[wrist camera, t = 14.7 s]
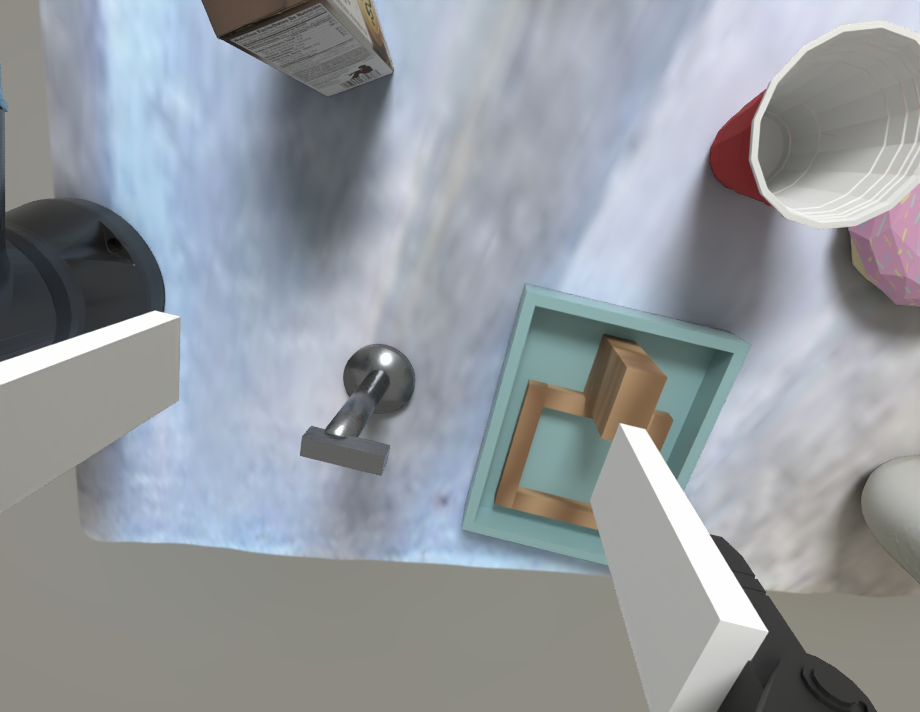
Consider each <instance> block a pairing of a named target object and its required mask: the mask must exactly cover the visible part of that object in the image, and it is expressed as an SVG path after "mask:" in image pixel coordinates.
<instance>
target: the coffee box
mask: <svg viewBox="0 0 920 712" xmlns="http://www.w3.org/2000/svg"><path fill="white" fill-rule="evenodd" d="M201 1H202V3H203V5H204V8H205V10H206V12H207V15H208V17H209V20H210V22H211V25H212V27H213V30H214V32H215V34H216V36H217V38H218V39H221V40H224V41H225V42H227V43H229V44H231V45H233V46H235V47H237V48H238V49H240V50H242V51H244V52H246V53H248V54H250V55H251V56H253V57H255V58H257V59H259V60H261V61H263V62H264V63H266V64H268V65H270V66H272V67H274V68H276V69H277V70H279V71H281V72H283V73H285V74H287V75H289V76H290V77H292V78H294V79H296V80H298V81H299V82H301V83H303V84H305V85H307V86H309V87H311V88H313V89H314V90H316V91H318V92H320V93H322V94H323V95H325V96H327V97H329V96H332V95H335V94H337V93H340V92H343V91H346V90H348V89H351V88H354V87H356V86H359V85H362V84H365V83H367V82H370V81H373V80H375V79H378V78H380V77H383V76H386V75H388V74H391V73H393V71H394V67H393V63H392V60H391V57H390V53H389V50H388V47H387V43H386V40H385V37H384V34H383V30H382V27H381V24H380V21H379V17H378V14H377V11H376V8H375V4H374V1H373V0H201Z"/></svg>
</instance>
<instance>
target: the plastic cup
mask: <svg viewBox="0 0 920 712" xmlns="http://www.w3.org/2000/svg"><path fill="white" fill-rule="evenodd" d="M710 165H711V168H712V170H713V173H714V176H715V177H716V178H717V179H718V180H719V181H720V182H721V183H722V184H723V185H724V186H725V187H727V188H730V189H732V190H735V191H736V192H737V193H739V194H742V195H745V196H748V197H751V198H753V199H756V200H759V201H762V202H764V203H765V204H766V205H769V206H772V207H773V208H775V209H776V210H777V211H778V212H779V213H780V214H781V215H782V216H783V217H785V218H787V219H790V220H793V221H796V222H798V223H801V224H804V225H807V226H810V227H813V228H816V229H828V228H840V227H851V226H857V225H859V224H861V223H863V222H865V221H867V220H869V219H872V218H874V217H876V216H878V215H880V214H882V213H884V212H886V211H889V210H891V209H892V208H893V207H894V206H896V205H897V204H898V203H899V202H900V201H901V200H902V199H903V198H904V197H905V196H906V195H907V194H908V193H909V192H910V191H912V190H913V189H914V188H915V187H916V186H917V185H918V184H919V183H920V33H917V32H915V31H912V30H909V29H907V28H904V27H901V26H898V25H896V24H893V23H890V22H888V21H885V20H880V21H871V22H862V23H853V24H844V25H841V26H839V27H837V28H836V29H834V30H832V31H830V32H828V33H826V34H824V35H823V36H821V37H819V38H817V39H815V40H813V41H811V42H810V43H808V44H806V45H804V46H803V47H802V48H801V49H800V50H799V51H798V52H797V53H796V54H795V55H794V57H793V58H792V59H791V60H790V61H789V62H788V63H787V64H786V65H785V66H784V67H783V69H782V70H781V71H780V72H779V73H778V74H777V75H776V76H775V77H774V78H773V79H772V81H771V82H770V83H769V85H768V87H767V89H765V90H764V91H763V92H762V93H760V94H759V95H758V96H757V97H755V98H754V99H753V100H752V101H750V102H749V103H748V104H747V105H745V106H744V107H743V108H742V109H741V110H740V111H739V112H738V113H737V114H736V115H734V116H733V117H732V118H731V119H730V120H729V121H728V122H727V123H726V124H725V125H724V126H723V127H722V128H721V129H720V130H719V132H718V133H717V136H716V138H715V140H714V142H713V144H712V147H711V153H710Z"/></svg>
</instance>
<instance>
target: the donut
mask: <svg viewBox="0 0 920 712" xmlns="http://www.w3.org/2000/svg"><path fill="white" fill-rule="evenodd" d="M848 231H849V233H850V235H851V249H852V263H853V265H854V266H855V267H856V269H857V270H858V271H859V272H860V273H861V274H862V275H863V276H864V277H865V278H866V279H867V280H869V281H870V282H871V283H873V284H874V285H875V286H876V287H878V288H879V289H880V290H882V291H883V292H884V293H885V294H886V295H887V296H888V297H889V298H890V299H891V300H892V301H893V302H894V303H895V304H896V305H906V306H917V307H920V183H919V184H918V185H917V186H916V187H915V188H914V189H913V190H912V191H910V192H909V193H908V194H907V195H906V196H905V197H904V198H903V199H902V200H901V201H900V202H899V203H898V204H897V205H896V206H894V207H893V208H892V209H891V210H889V211H886V212H884V213H882V214H880V215H878V216H876V217H874V218H872V219H869V220H867V221H865V222H863V223H861V224H859V225H857V226H851V227H849V228H848Z"/></svg>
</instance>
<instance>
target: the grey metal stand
mask: <svg viewBox="0 0 920 712" xmlns="http://www.w3.org/2000/svg"><path fill="white" fill-rule="evenodd" d="M343 380H344V386H345V389H346V391H347V393H348V395H349V396H350V398H349V399H348V400H347V402H346V403H345V404H344V406H343V407H342V408H341V409H340V411H339V412H338V413H337V415H336V416H335V417H334V418H333V420H332V421H331V422H330V424H329V425H328V426H327V427H326V429H322V428H318V427H313V426H311V427H310V428H309V429H308V430H307V431H306V433H305V434H304V435H303V436H302V442H301V450H300V456H303V457H307V458H311V459H315V460H319V461H323V462H327V463H331V464H335V465H340V466H344V467H348V468H352V469H356V470H360V471H364V472H368V473H372V474H376V475H380V476H381V475H382V473H383V471H384V468H385V466H386V464H387V459H388V454H389V449H390V445H387V444H383V443H379V442H375V441H370V440H366V439H362V438H358V436H359V435H360V433H361V431H362V430H363V428H364V427H365V425H366V423H367V422H368V420H369V418H370V417H371V415H372V414H373V413H390V412H393V411H396V410H398V409H399V408H401V407H402V406H403V405H404V404H405V403H406V402H407V401H408V400H409V398H410V396H411V394H412V392H413V389H414V386H415V374H414V370H413V367H412V365H411V363H410V361H409V360H408V359H407V357H406V356H405V355H404V354H403V353H401V352H400V351H398V350H397V349H395V348H393V347H391V346H387V345H383V344H373V345H368V346H365V347H363V348H361V349H359V350H358V351H357V352H356V353H355V354H354V355H353V356H352V357H351V358H350V359H349V360H348V362H347V364H346V366H345V369H344V374H343Z"/></svg>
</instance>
